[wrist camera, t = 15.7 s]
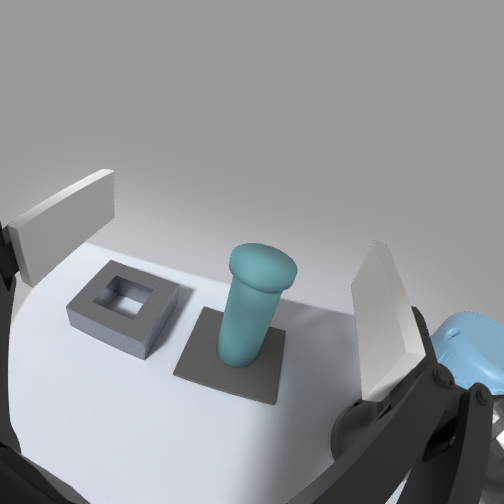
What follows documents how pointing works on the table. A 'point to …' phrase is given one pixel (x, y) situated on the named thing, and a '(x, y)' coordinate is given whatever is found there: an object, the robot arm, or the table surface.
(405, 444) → the robot arm
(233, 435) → the table surface
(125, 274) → the housing
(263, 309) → the teal capped cylinder
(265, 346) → the mat
